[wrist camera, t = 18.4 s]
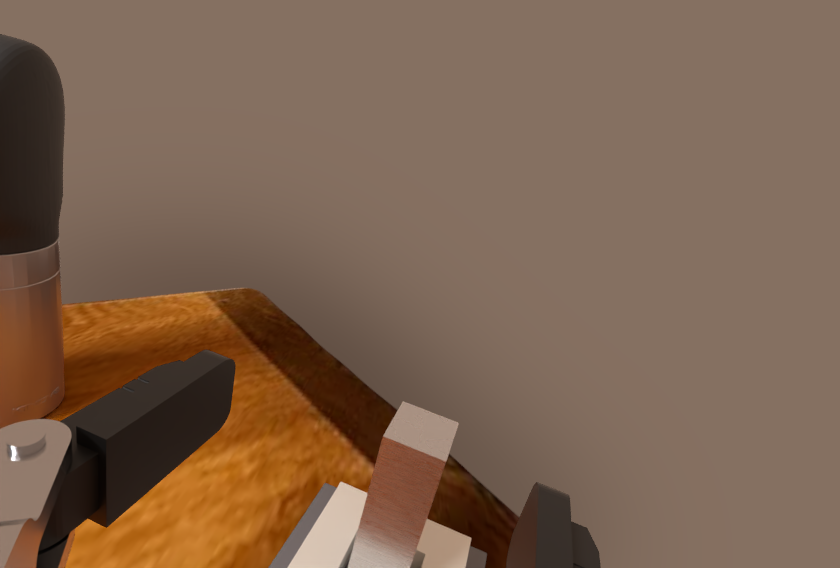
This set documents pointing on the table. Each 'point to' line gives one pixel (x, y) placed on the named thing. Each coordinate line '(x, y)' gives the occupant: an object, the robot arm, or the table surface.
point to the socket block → (337, 528)
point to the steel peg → (402, 488)
